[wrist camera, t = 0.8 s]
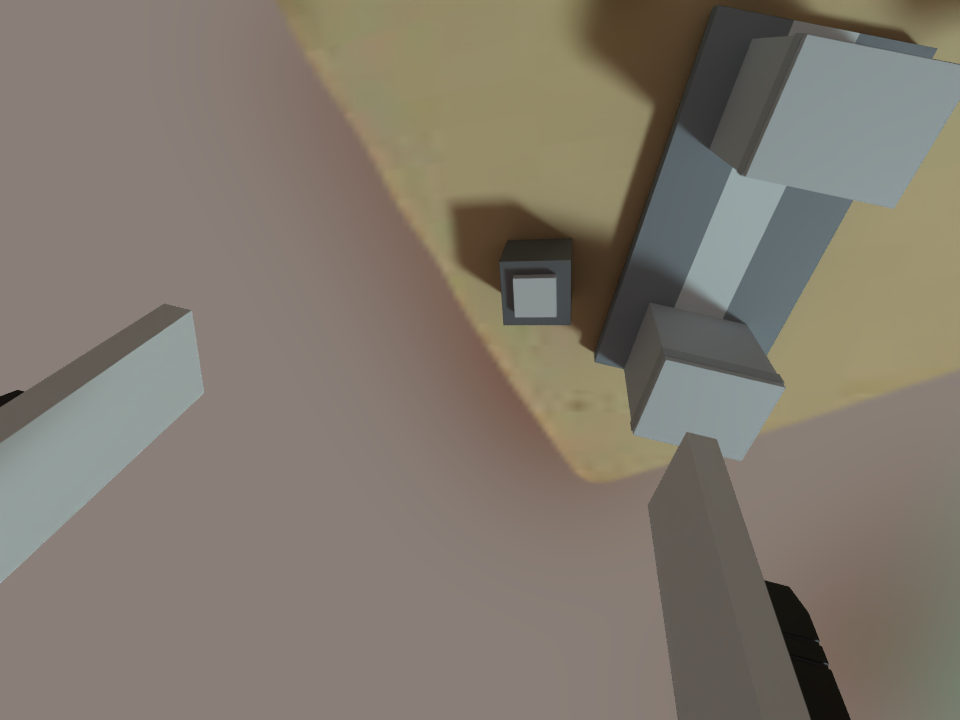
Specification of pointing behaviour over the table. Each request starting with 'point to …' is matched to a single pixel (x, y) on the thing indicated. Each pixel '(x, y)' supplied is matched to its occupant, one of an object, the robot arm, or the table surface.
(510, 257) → the block
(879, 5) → the table surface
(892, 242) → the table surface
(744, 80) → the rail board
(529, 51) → the table surface
